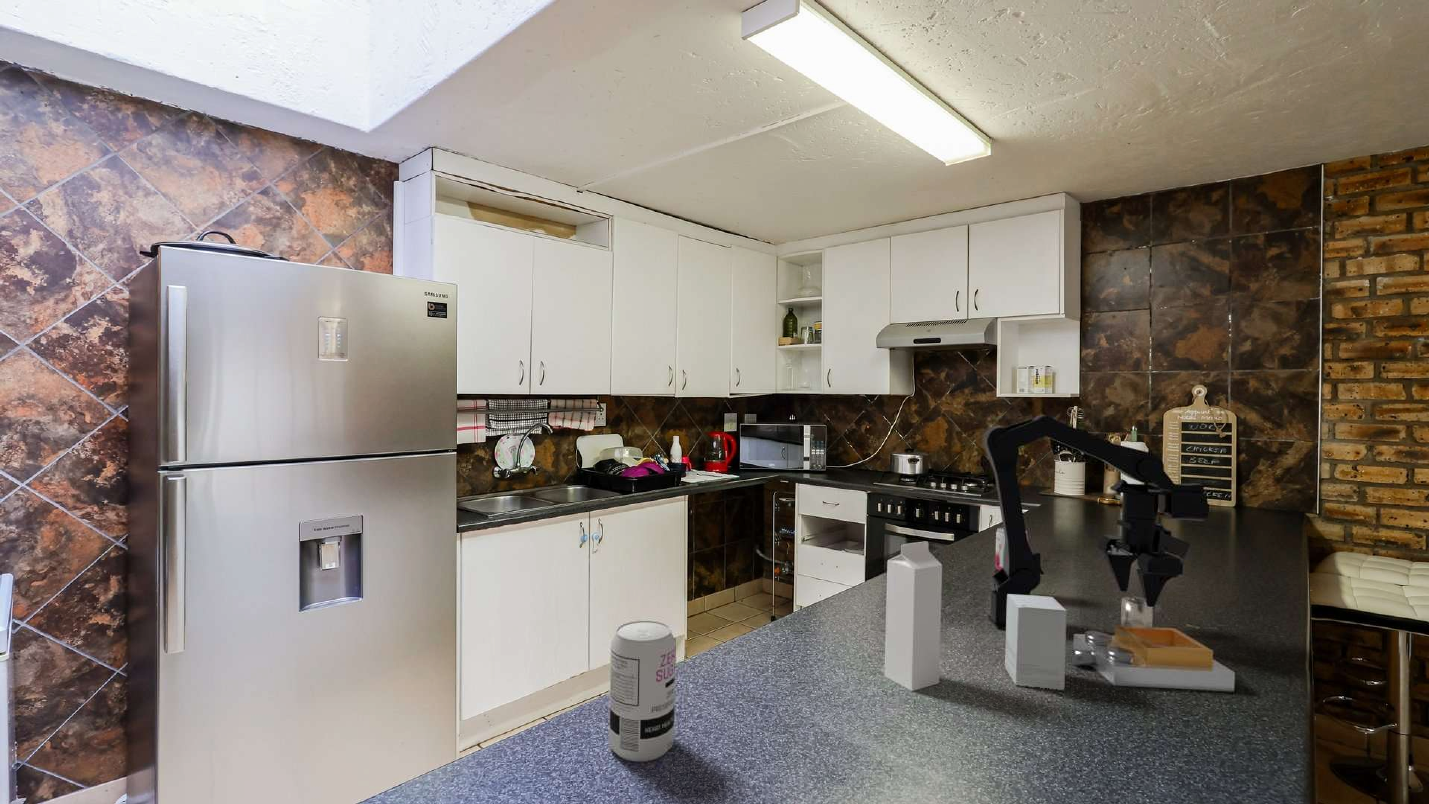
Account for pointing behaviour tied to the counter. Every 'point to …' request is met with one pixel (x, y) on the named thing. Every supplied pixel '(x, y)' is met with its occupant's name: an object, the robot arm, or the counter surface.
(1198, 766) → the counter surface
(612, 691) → the supplement can
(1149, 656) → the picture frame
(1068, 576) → the counter surface
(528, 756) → the counter surface
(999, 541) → the beverage can
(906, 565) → the milk
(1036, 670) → the supplement box
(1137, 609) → the spout can
